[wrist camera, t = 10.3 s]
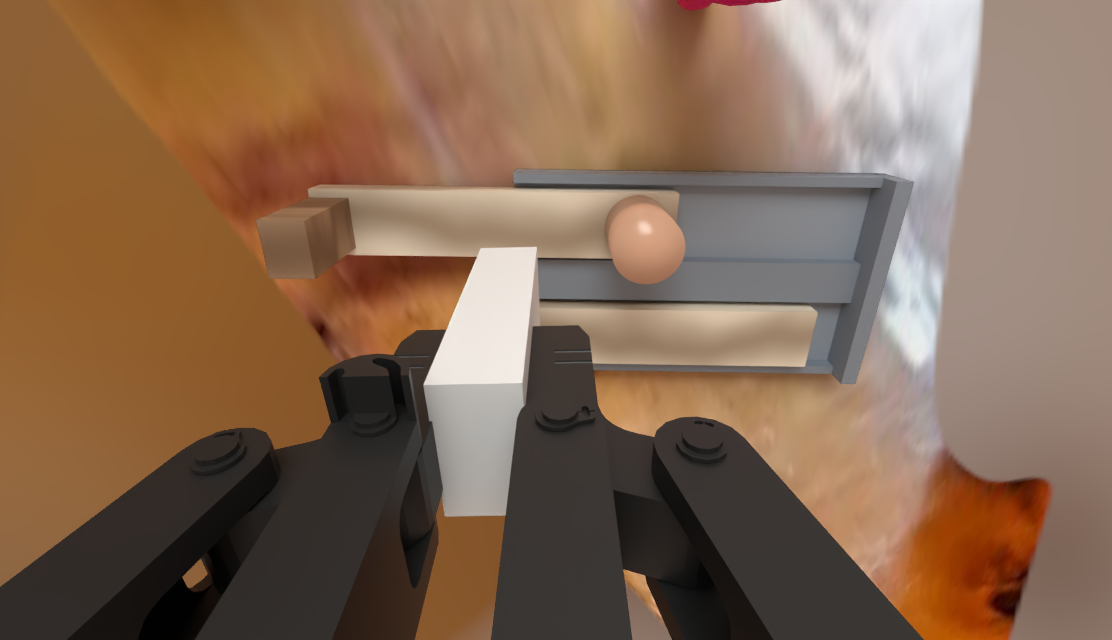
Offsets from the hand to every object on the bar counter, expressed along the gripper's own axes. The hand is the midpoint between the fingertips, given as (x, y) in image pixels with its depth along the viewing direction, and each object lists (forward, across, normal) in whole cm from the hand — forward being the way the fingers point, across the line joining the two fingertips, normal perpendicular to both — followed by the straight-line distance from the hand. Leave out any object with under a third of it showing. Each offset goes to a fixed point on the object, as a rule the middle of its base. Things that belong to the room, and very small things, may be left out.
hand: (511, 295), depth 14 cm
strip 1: (+21, -3, -3) cm, 21 cm away
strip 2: (+20, +7, -11) cm, 24 cm away
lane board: (+21, +10, -8) cm, 25 cm away
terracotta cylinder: (+19, +6, -4) cm, 20 cm away
